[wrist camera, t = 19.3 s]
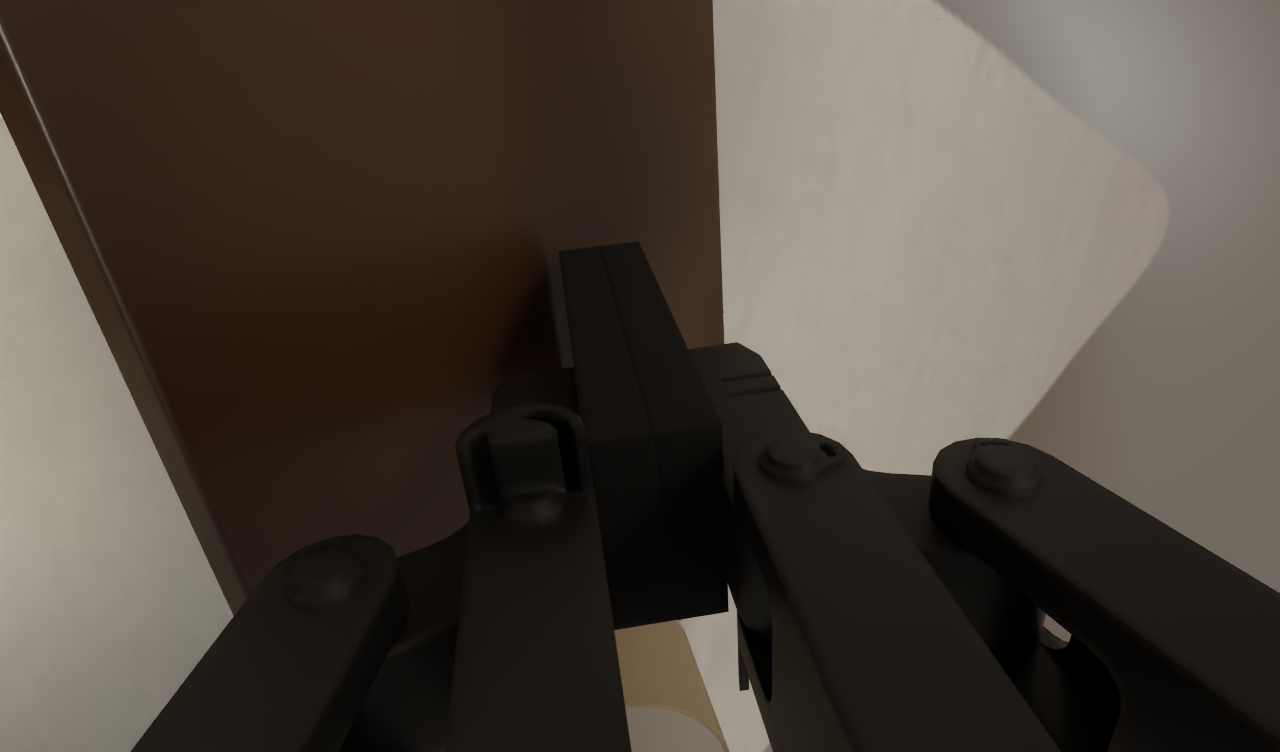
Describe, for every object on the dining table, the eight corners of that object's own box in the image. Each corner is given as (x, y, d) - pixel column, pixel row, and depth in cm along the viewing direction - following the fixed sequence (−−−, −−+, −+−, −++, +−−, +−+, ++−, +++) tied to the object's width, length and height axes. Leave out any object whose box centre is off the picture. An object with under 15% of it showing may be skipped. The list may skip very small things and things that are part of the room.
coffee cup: (595, 487, 34) (641, 804, 21) (723, 583, 38) (830, 904, 24) (463, 605, 36) (429, 962, 23) (597, 685, 40) (633, 1031, 26)
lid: (325, 818, 13) (357, 842, 12) (-93, -78, 6) (-57, -90, 6) (704, 423, 23) (728, 428, 22) (678, -75, 16) (711, -80, 16)
